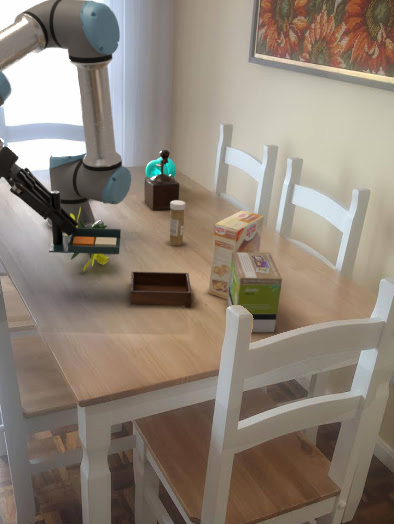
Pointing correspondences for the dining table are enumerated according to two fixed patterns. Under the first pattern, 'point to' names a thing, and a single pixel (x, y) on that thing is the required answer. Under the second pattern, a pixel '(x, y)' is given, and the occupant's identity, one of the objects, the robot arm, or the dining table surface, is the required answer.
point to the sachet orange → (83, 241)
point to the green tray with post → (80, 235)
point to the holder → (160, 289)
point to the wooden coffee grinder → (161, 187)
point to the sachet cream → (106, 241)
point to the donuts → (155, 170)
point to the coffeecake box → (232, 247)
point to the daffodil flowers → (98, 257)
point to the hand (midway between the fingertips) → (73, 229)
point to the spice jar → (176, 222)
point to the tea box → (255, 288)
